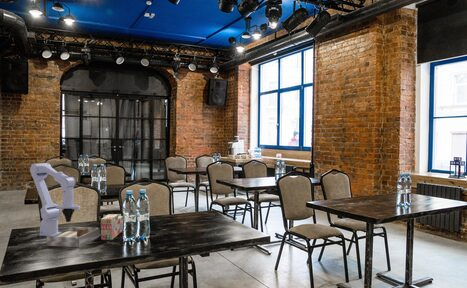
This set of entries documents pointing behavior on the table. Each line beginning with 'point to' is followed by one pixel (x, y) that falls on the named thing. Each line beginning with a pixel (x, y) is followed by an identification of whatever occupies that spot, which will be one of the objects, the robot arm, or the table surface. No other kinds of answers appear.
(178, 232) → the table surface
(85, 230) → the walnut block
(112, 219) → the stack of blocks
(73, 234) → the board
